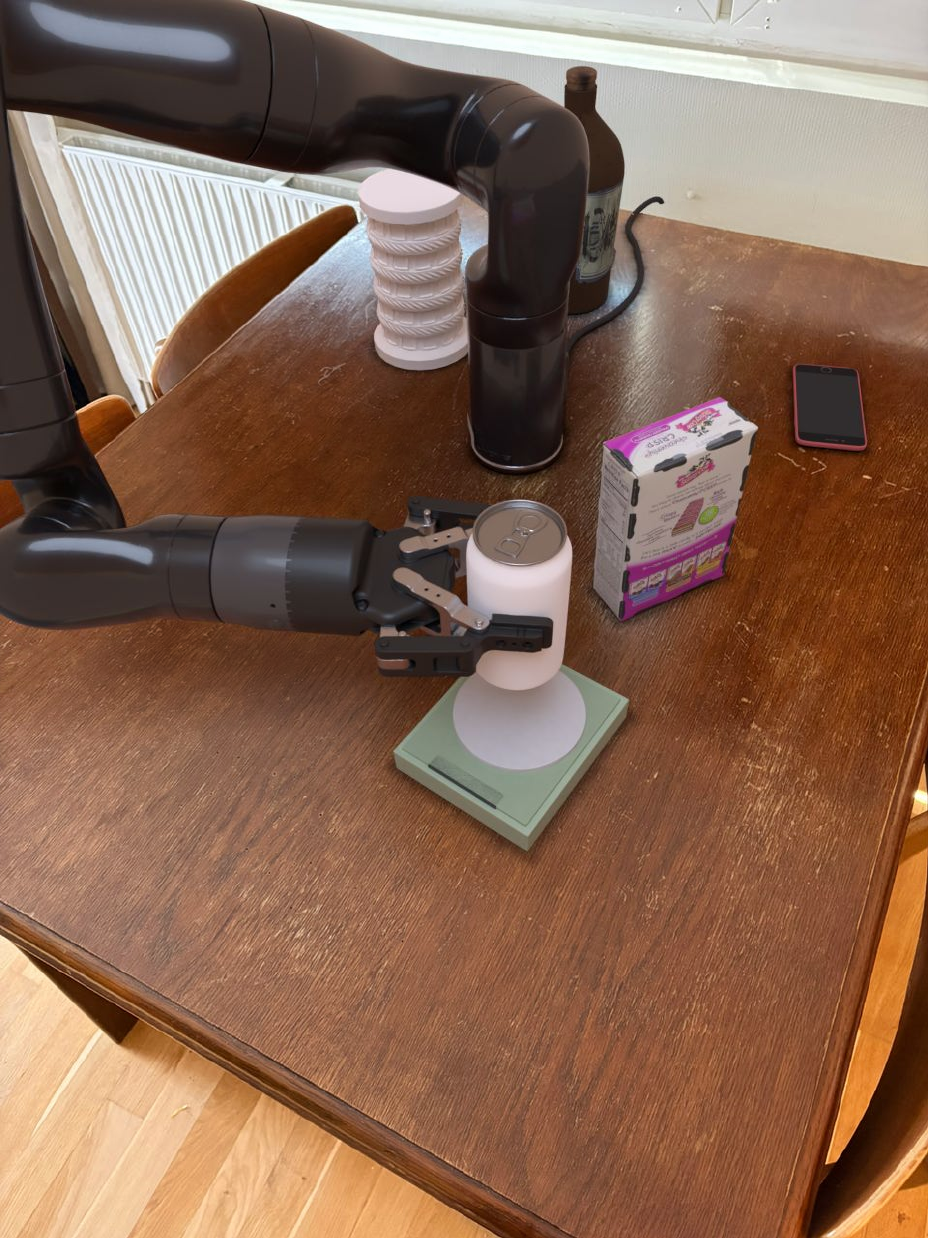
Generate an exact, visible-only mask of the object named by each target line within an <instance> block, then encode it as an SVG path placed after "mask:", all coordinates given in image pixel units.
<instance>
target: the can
mask: <svg viewBox="0 0 928 1238" xmlns="http://www.w3.org/2000/svg"><path fill="white" fill-rule="evenodd" d="M473 524H474V525H473V530H472V534H471V536H470V538H469V541H468V544H467V551H466V566H467V575H466V587H467V588H466V593H467V594H466V595H467V606H468V607H470V608H472V609H474V610H476V611H478V612H480V613H482V614H484V615H486V616H487V617H488V618H489V620H492V613H493V614H508V615H523V616H538V617H548V618H551V619H552V620H553V637H552V646H551V647H550V648H547V649H542V651H539V652H535V653H527V652H517V651H516V652H513V651H499V650H491V651H487V652H486V653H484V654H483V655H482V657H481V658H480V660H479V662H478V663H477V665H476V671H477V673H478V674H479V675H480V676H481V677H482V678H483V679H484V680H486V681H487V682H489V683H491V684H493V685H495V686H497V687H500V688H504V689H509V690H526V689H531V688H535V687H538V686H540V685H542V684H544V683H546V682H547V681H549V680H550V679H551V678H552V677H553V676H554V675H555V674H556V673H557V672H558V670H559V668H560V666H561V664H563V660H564V653H565V645H566V635H567V624H568V615H569V613H568V612H569V603H570V590H571V579H572V566H573V546H572V542H571V540H570V539H571V538H570V537H569V535H568V528H567V524H566V521H565V520H564V518H563V517H562V516H561V514H560V513H559V512H558V511H557V510H555V509H553V508H552V507H551V506H549V505H547V504H545V503H542V502H539V501H536V500H531V499H521V498H519V499H515V498H514V499H508V500H507V499H506V500H502V501H499V502H497V503H494V504H491V506H490V507H488V508H487V509H485V510H484V511H483V512H482V513H481V514H480V515H479V516H478V517H477V519H476V520H474V523H473Z"/></svg>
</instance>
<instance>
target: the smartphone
mask: <svg viewBox="0 0 928 1238" xmlns="http://www.w3.org/2000/svg"><path fill="white" fill-rule="evenodd" d="M861 390H862V389H861V381H860V373H859V371H858V370H857V369H855V368H852V367H844V366H834V365H833V366H832V365H820V364H808V363H797V364H795V365H794V366H793V367H792V391H793V392H792V394H793V419H794V420H793V426H794V440H795V442H796V443H797V444H798V445H799V446H805V447H814V448H824V449H833V450H844V451H852V452H853V451H854V452H861V451H864V450H866V448H867V446H868V437H867V430H866V422H865V421H866V420H865V415H864V406H863V405H864V404H863V399H862V398H863V396H862V391H861Z"/></svg>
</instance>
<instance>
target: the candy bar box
mask: <svg viewBox="0 0 928 1238" xmlns="http://www.w3.org/2000/svg"><path fill="white" fill-rule="evenodd" d="M758 430H759V427H758V426H757V425H756V424H755V423H754V422H752V421H751V420H750V419H749V418H747V417H745V416H744V415H743V414H742V413H740V411H738V410H737V409H736V408H734V407H732V406H731V404H730V402H728V401H727V400H726V399H724V398H722V397H721V396H718V397H716V398H713V399H710V400H708V401H706V402H703V403H701V404H697V405H695V406H693V407H690V408H688V409H685V410H682V411H680V412H677V413H675V414H673V415H670V416H668V417H665V418H662V419H660V420H657V421H655V422H652V423H649V424H647V425H645V426H642V427H639V428H637V429H634V430H631V431H629V432H626V433H624V434H622V435H621V434H620V435H618V436H616V437H613V438H611V439H608V440H606V441H603V442H602V453H601V465H600V480H599V481H600V482H599V494H598V511H597V520H596V521H597V522H596V535H595V537H596V538H595V550H594V562H593V574H592V575H593V576H592V590H594V592H595V593H596V594H597V596H598V597H599V598H600V599H601V600H602V601H603V602H604V604H606V605H607V607H608V608H609V610H610V611H611V612H612V614H614V616H615V617H616V618H617V619H618V620H619V621H620V622H624V621H626V620H628V619H629V620H630V619H631V618H633V617H636V616H638V615H639V614H642V613H644V612H646V611H649V610H650V609H652V608H656V607H657V606H659V605H662V604H664V603H665V602H668V601H670V600H672V599H675V598H676V597H679V596H681V595H683V594H686V593H688V592H690V591H692V590H694V589H697V588H699V587H701V586H703V585H706V584H708V583H710V582H712V581H715V580H717V579H719V578H721V577H723V576H724V575H725V569H726V566H727V562H728V557H729V552H730V549H731V545H732V540H733V535H734V531H735V527H736V522H737V520H738V516H739V515H738V514H739V509H740V504H741V500H742V497H743V493H744V489H745V485H746V484H745V483H746V480H747V477H748V471H749V467H750V463H751V458H752V455H753V450H754V445H755V442H756V437H757V433H758Z"/></svg>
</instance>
